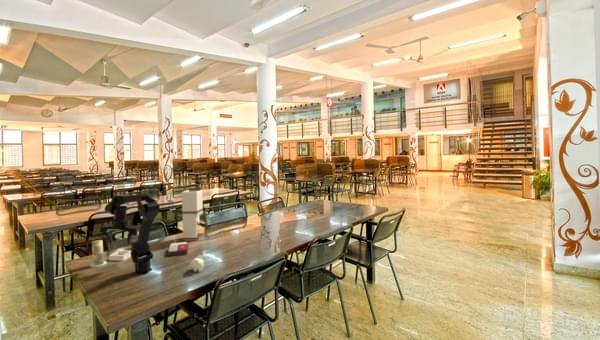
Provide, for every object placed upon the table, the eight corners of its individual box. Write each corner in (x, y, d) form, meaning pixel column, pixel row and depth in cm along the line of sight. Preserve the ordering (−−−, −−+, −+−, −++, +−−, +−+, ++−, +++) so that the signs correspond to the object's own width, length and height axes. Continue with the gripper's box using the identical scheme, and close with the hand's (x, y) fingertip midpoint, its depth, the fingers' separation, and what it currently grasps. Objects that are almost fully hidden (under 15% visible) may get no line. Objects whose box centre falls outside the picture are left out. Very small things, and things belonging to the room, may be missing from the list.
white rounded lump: (191, 267, 163) (190, 254, 163) (208, 267, 163) (207, 254, 162) (185, 272, 156) (184, 259, 155) (203, 272, 155) (202, 259, 155)
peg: (104, 261, 172) (103, 239, 171) (102, 264, 167) (100, 242, 166) (94, 262, 170) (93, 240, 170) (91, 265, 166) (90, 243, 165)
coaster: (110, 262, 173) (110, 261, 173) (100, 267, 165) (100, 266, 165) (97, 262, 173) (96, 261, 173) (86, 267, 165) (86, 266, 165)
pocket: (133, 255, 184) (132, 250, 183) (123, 260, 175) (123, 255, 175) (119, 255, 184) (118, 250, 184) (109, 260, 175) (108, 255, 175)
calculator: (167, 251, 180) (169, 242, 194) (167, 258, 181) (170, 249, 195) (187, 249, 184) (187, 240, 198) (187, 255, 184) (188, 247, 198)
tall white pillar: (198, 240, 212) (196, 191, 210) (183, 240, 212) (181, 192, 210) (203, 235, 223) (202, 189, 221) (189, 236, 223) (187, 190, 221)
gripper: (143, 213, 174) (143, 239, 176) (109, 211, 171) (109, 237, 173) (135, 219, 163) (135, 246, 165) (99, 217, 160) (99, 244, 162)
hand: (119, 243), depth 167 cm, fingers open, 9 cm apart
